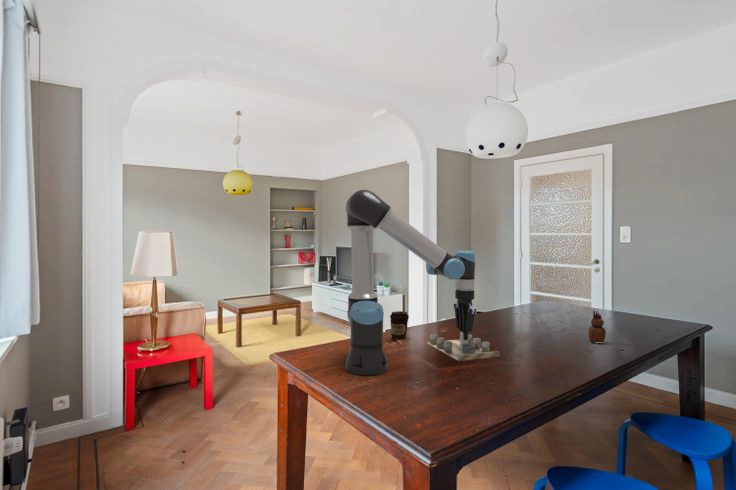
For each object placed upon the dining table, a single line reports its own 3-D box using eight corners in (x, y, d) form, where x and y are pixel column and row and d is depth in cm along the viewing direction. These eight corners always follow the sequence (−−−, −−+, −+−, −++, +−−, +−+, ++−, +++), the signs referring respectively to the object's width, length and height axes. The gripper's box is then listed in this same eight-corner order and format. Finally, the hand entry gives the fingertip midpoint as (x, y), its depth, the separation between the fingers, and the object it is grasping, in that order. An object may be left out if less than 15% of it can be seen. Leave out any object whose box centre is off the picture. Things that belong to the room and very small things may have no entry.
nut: (466, 355, 157) (466, 347, 157) (458, 351, 162) (459, 344, 162) (478, 353, 159) (478, 346, 159) (471, 350, 164) (471, 342, 164)
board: (458, 365, 150) (459, 350, 150) (426, 345, 175) (426, 333, 175) (499, 360, 156) (499, 346, 156) (462, 342, 181) (462, 330, 181)
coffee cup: (407, 344, 177) (407, 314, 177) (388, 342, 179) (388, 313, 179) (409, 338, 186) (409, 310, 185) (391, 337, 188) (391, 310, 187)
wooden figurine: (590, 344, 180) (591, 310, 179) (586, 340, 186) (587, 308, 185) (607, 345, 178) (608, 311, 178) (602, 341, 184) (603, 309, 183)
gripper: (482, 291, 158) (481, 350, 159) (463, 286, 170) (462, 342, 171) (466, 292, 155) (464, 352, 156) (448, 287, 167) (447, 343, 168)
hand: (463, 347), depth 163 cm, fingers closed
